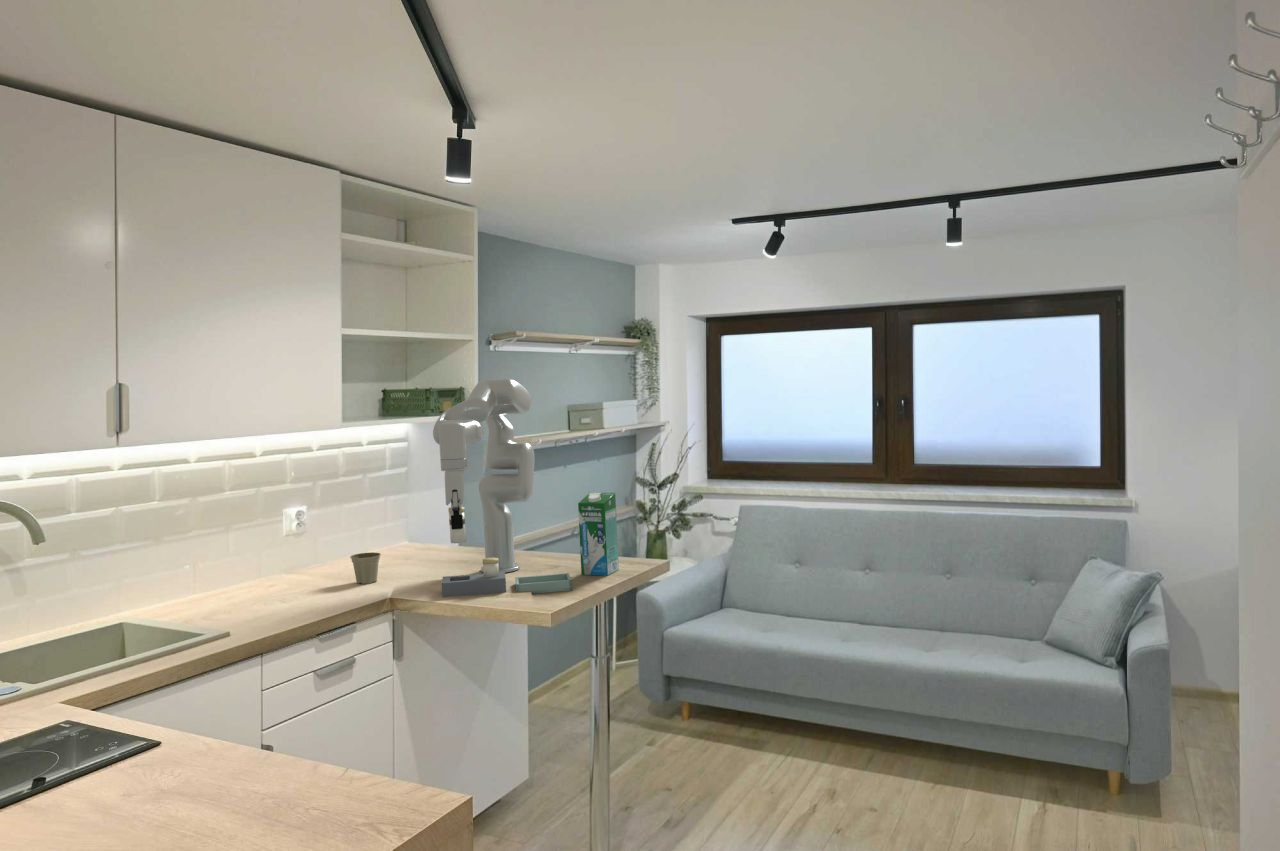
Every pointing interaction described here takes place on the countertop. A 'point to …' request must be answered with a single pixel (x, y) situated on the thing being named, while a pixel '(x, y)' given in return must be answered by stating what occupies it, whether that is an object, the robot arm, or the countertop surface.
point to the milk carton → (598, 534)
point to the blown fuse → (457, 534)
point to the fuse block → (476, 581)
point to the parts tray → (544, 583)
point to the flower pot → (366, 567)
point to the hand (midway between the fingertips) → (457, 526)
